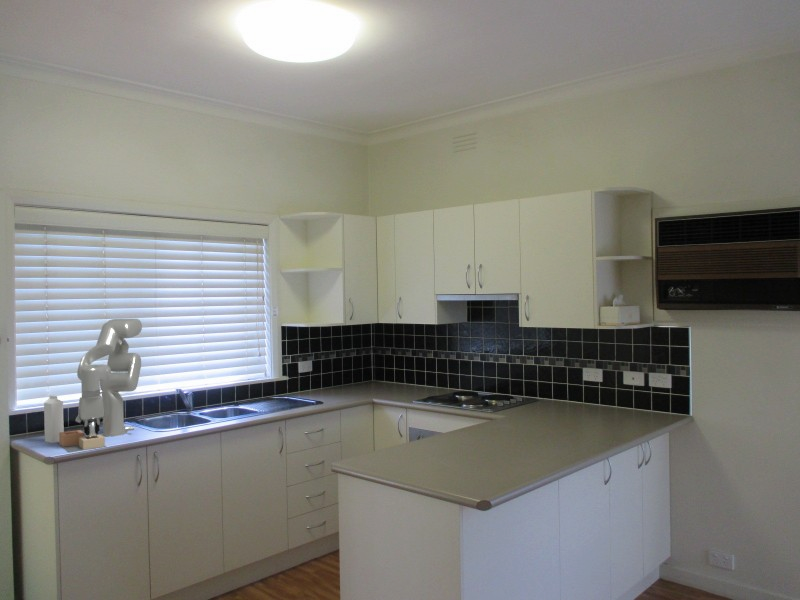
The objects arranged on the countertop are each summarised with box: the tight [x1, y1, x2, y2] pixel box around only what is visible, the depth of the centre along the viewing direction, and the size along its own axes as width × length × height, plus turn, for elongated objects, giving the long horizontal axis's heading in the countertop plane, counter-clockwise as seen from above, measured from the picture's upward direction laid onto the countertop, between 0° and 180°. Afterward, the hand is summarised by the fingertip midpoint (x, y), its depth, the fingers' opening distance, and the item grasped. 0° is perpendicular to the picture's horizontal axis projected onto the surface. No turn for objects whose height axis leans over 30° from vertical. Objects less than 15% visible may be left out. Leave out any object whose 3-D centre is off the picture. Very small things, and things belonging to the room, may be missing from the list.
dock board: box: [57, 429, 107, 453], centre depth 304 cm, size 16×24×6 cm, turn 37°
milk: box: [43, 395, 65, 444], centre depth 318 cm, size 6×6×22 cm
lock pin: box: [87, 418, 97, 439], centre depth 301 cm, size 4×4×13 cm
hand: (91, 433), depth 301 cm, fingers closed on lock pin, 3 cm apart
